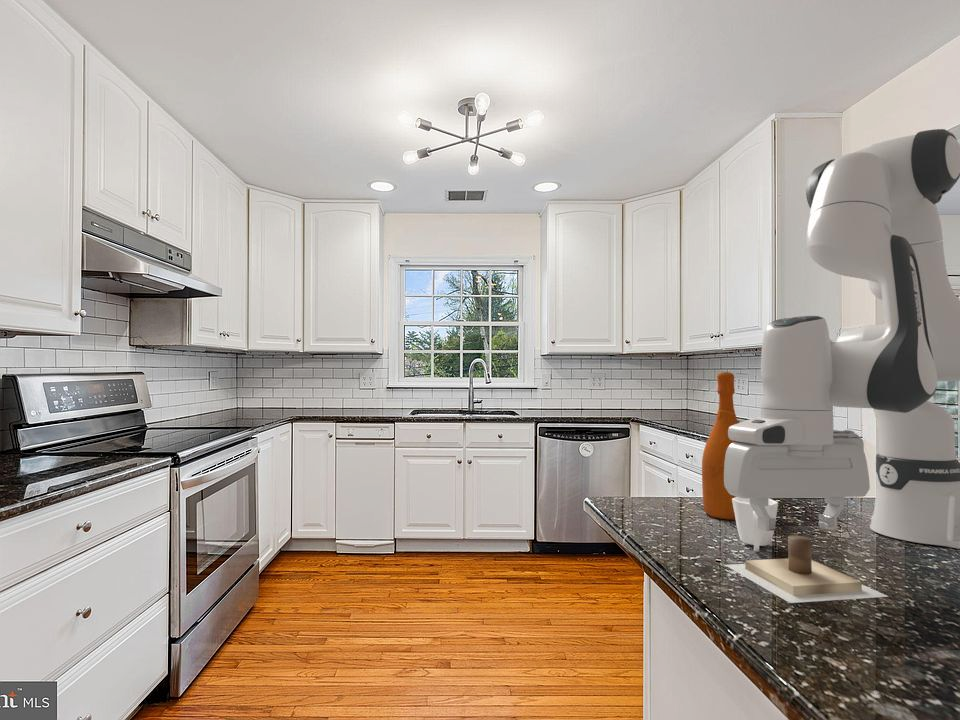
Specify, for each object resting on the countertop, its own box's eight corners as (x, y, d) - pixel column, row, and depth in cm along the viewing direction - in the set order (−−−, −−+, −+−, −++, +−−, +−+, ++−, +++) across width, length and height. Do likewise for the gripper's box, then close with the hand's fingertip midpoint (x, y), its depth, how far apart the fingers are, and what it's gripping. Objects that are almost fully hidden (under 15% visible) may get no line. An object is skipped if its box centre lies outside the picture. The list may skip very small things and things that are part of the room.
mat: (808, 563, 84) (808, 560, 84) (888, 600, 70) (888, 596, 70) (724, 568, 82) (724, 564, 82) (790, 606, 68) (789, 602, 68)
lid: (806, 565, 82) (805, 527, 82) (861, 591, 72) (860, 547, 72) (745, 568, 80) (744, 529, 80) (793, 595, 70) (792, 551, 71)
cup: (777, 545, 93) (776, 497, 94) (782, 563, 84) (781, 510, 85) (732, 540, 96) (731, 494, 97) (732, 556, 87) (731, 506, 87)
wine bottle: (763, 521, 108) (760, 371, 109) (714, 521, 108) (711, 371, 109) (740, 509, 118) (738, 372, 119) (695, 509, 118) (693, 372, 119)
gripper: (844, 428, 81) (845, 521, 80) (717, 427, 78) (717, 524, 78) (881, 432, 75) (882, 533, 74) (744, 431, 72) (745, 537, 71)
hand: (797, 529), depth 76 cm, fingers open, 8 cm apart
